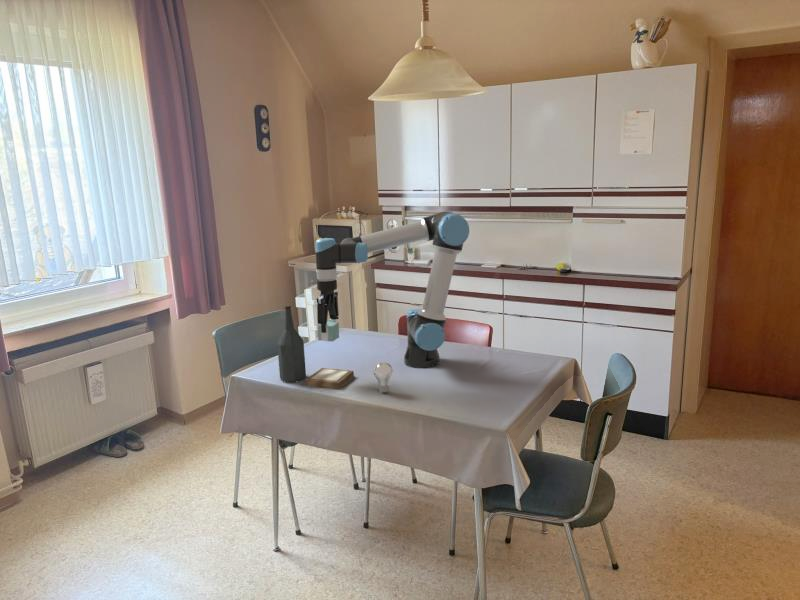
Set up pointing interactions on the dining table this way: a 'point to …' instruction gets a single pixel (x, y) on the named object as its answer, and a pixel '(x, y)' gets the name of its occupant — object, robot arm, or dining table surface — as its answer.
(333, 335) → the cube
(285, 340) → the bottle
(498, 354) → the dining table surface
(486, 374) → the dining table surface
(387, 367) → the light bulb
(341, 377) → the picture frame
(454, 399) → the dining table surface
